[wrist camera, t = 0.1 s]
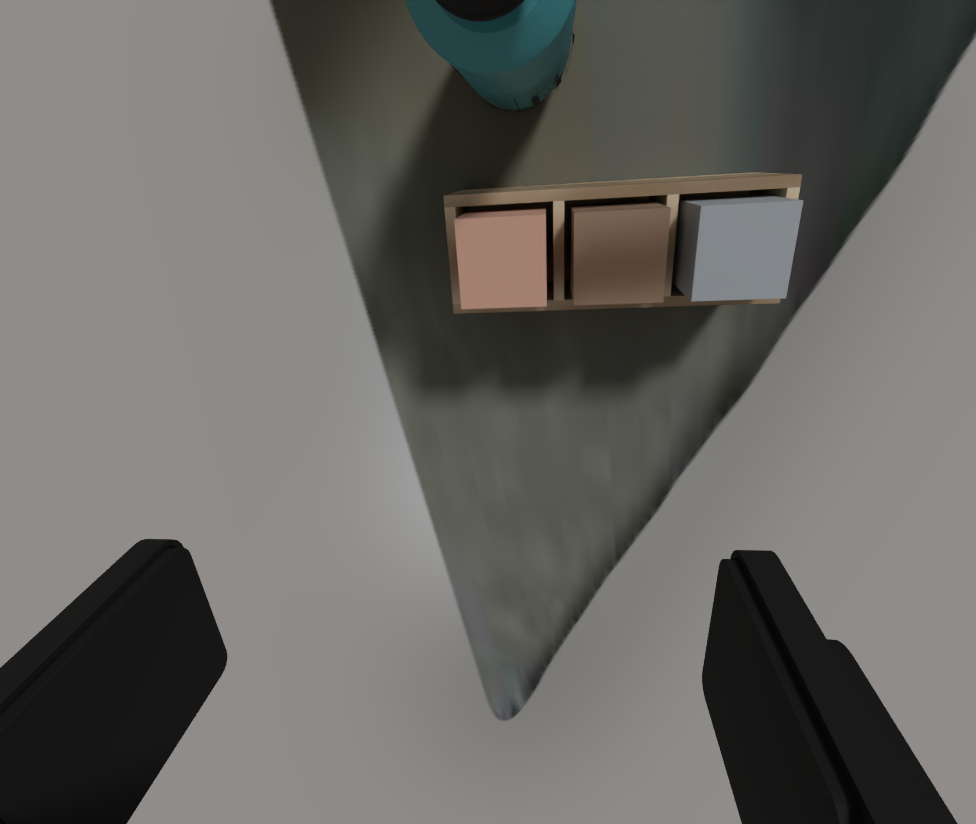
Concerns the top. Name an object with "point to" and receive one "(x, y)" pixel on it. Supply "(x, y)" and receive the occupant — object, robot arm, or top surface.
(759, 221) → the grey cube
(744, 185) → the wooden compartment box
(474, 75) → the beverage bottle
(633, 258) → the brown cube
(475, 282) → the salmon pink cube
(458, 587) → the top surface
